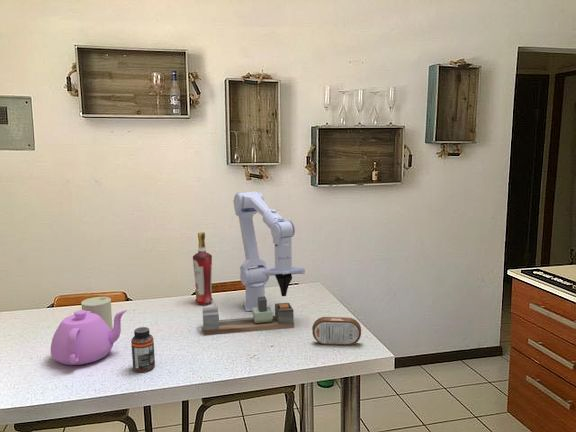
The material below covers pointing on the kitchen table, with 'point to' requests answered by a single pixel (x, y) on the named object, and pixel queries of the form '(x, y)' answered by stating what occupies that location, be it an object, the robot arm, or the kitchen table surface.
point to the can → (99, 308)
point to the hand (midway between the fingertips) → (283, 295)
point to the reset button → (283, 306)
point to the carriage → (262, 311)
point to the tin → (336, 331)
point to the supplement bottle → (143, 350)
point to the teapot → (84, 338)
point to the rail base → (245, 321)
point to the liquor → (203, 272)
